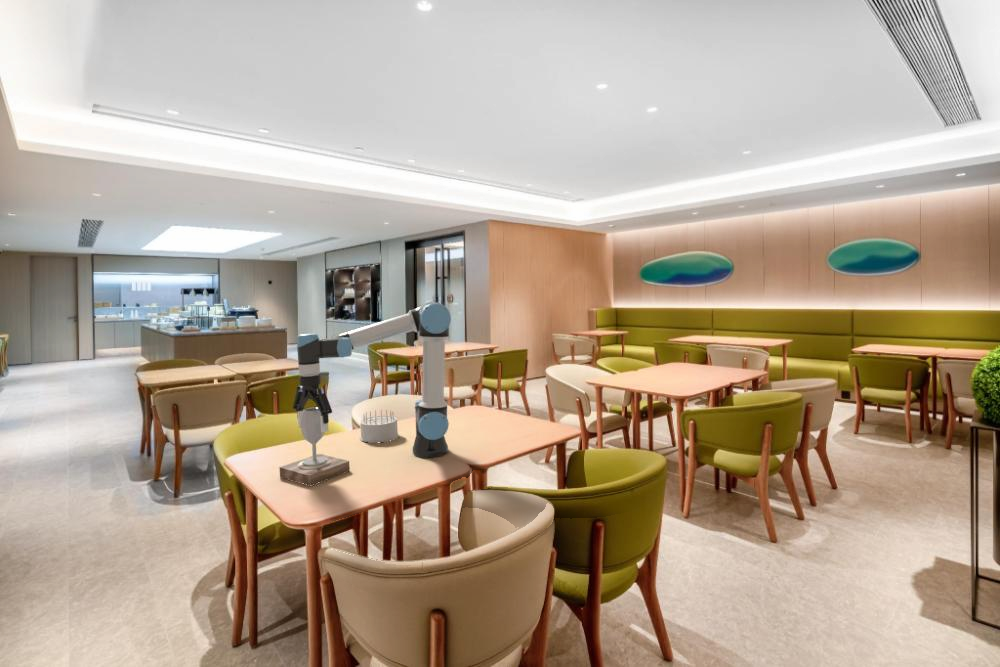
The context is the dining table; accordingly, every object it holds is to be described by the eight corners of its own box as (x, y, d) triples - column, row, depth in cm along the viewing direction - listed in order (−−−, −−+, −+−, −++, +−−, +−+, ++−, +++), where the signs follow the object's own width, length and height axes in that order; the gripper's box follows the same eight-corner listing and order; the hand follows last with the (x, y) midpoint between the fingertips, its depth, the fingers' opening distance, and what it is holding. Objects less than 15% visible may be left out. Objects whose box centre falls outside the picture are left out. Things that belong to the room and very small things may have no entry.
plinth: (349, 470, 197) (349, 459, 197) (310, 486, 182) (309, 474, 181) (319, 463, 207) (319, 452, 206) (280, 477, 192) (279, 466, 191)
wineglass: (331, 460, 197) (329, 407, 195) (316, 467, 188) (314, 412, 187) (313, 458, 199) (310, 405, 198) (297, 465, 191) (295, 411, 189)
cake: (374, 431, 253) (372, 405, 251) (405, 434, 247) (404, 407, 245) (352, 441, 236) (350, 413, 235) (385, 444, 230) (384, 416, 229)
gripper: (339, 375, 187) (343, 431, 189) (297, 371, 201) (301, 423, 203) (323, 378, 181) (326, 436, 183) (280, 373, 194) (284, 427, 196)
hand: (313, 429), depth 193 cm, fingers open, 13 cm apart
